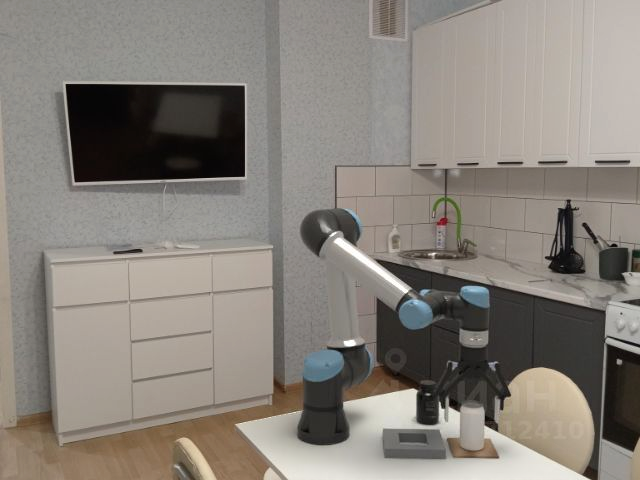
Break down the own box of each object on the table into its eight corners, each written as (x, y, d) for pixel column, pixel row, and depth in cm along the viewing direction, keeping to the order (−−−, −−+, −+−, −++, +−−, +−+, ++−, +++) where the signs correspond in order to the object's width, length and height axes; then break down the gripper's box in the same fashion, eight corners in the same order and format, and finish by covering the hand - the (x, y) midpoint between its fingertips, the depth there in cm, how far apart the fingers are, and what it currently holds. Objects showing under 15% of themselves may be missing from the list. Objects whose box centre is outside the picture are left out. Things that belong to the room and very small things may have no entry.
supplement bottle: (442, 419, 199) (442, 381, 198) (434, 426, 193) (434, 387, 192) (421, 415, 202) (421, 377, 201) (412, 422, 197) (412, 383, 195)
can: (484, 452, 173) (485, 408, 172) (459, 450, 175) (460, 407, 174) (483, 443, 180) (484, 400, 179) (459, 441, 181) (460, 399, 180)
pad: (453, 457, 172) (453, 455, 172) (446, 439, 184) (446, 437, 184) (499, 458, 171) (499, 456, 171) (490, 440, 183) (490, 438, 183)
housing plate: (384, 457, 172) (384, 448, 172) (382, 436, 186) (382, 428, 185) (445, 458, 171) (445, 449, 171) (439, 437, 185) (439, 429, 184)
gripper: (428, 346, 172) (426, 424, 174) (524, 348, 170) (521, 427, 172) (425, 339, 179) (423, 414, 181) (517, 341, 178) (514, 416, 180)
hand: (471, 420), depth 177 cm, fingers open, 13 cm apart
